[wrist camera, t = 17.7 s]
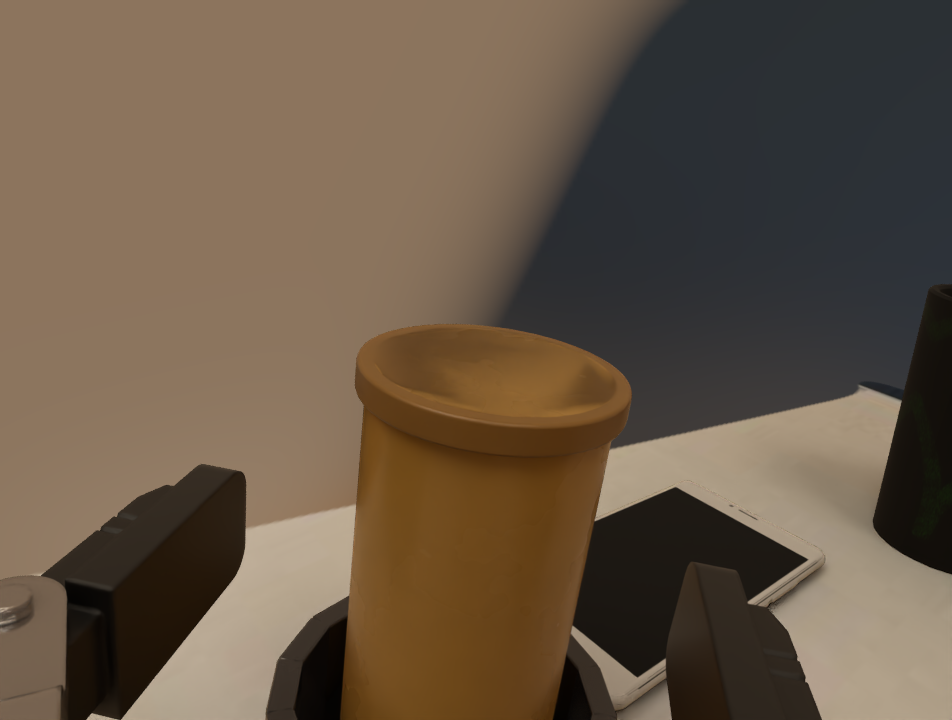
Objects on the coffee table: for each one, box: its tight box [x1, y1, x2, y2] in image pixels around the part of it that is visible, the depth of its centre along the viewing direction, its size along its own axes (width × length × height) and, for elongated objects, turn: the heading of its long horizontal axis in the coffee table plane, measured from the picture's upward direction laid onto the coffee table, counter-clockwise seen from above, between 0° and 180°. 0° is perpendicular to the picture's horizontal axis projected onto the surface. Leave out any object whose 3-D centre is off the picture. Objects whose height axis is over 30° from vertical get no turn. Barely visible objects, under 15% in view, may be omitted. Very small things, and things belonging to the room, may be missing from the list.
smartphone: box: [571, 481, 825, 710], centre depth 28 cm, size 8×1×15 cm
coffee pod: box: [340, 324, 632, 720], centre depth 15 cm, size 5×5×12 cm
